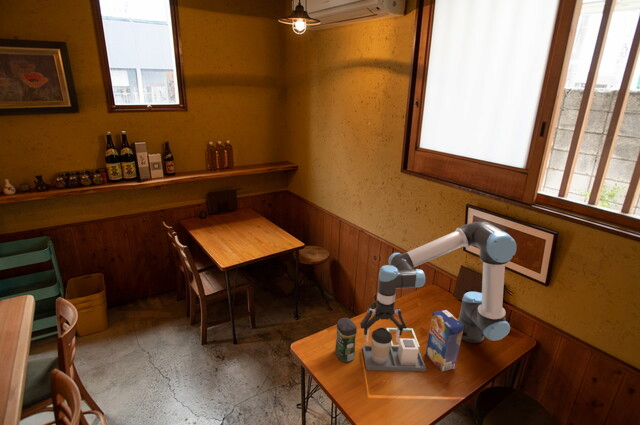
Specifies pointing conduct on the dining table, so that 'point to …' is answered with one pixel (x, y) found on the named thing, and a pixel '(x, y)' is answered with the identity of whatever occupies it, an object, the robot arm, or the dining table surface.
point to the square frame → (404, 331)
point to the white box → (407, 351)
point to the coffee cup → (381, 345)
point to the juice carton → (444, 340)
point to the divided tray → (391, 361)
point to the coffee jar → (345, 339)
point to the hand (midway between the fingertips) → (381, 340)
